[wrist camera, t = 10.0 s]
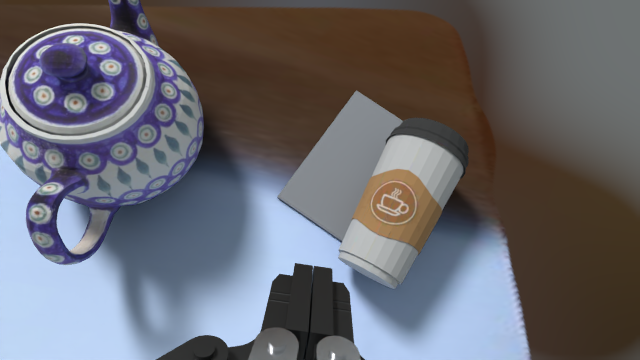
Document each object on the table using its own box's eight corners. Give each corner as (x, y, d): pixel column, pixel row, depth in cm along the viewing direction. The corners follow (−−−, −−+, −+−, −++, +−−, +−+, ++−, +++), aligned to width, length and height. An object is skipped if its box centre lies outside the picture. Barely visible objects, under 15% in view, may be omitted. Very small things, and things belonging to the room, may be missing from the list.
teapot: (184, 280, 34) (123, 269, 20) (10, 260, 32) (-191, 232, 18) (233, 59, 42) (216, -62, 28) (96, 34, 40) (3, -107, 26)
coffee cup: (316, 241, 31) (392, 104, 34) (336, 261, 38) (396, 146, 42) (407, 289, 27) (480, 131, 31) (409, 300, 35) (468, 172, 38)
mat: (389, 274, 37) (390, 274, 36) (277, 197, 37) (277, 196, 37) (454, 157, 42) (456, 156, 41) (355, 92, 43) (356, 90, 42)
